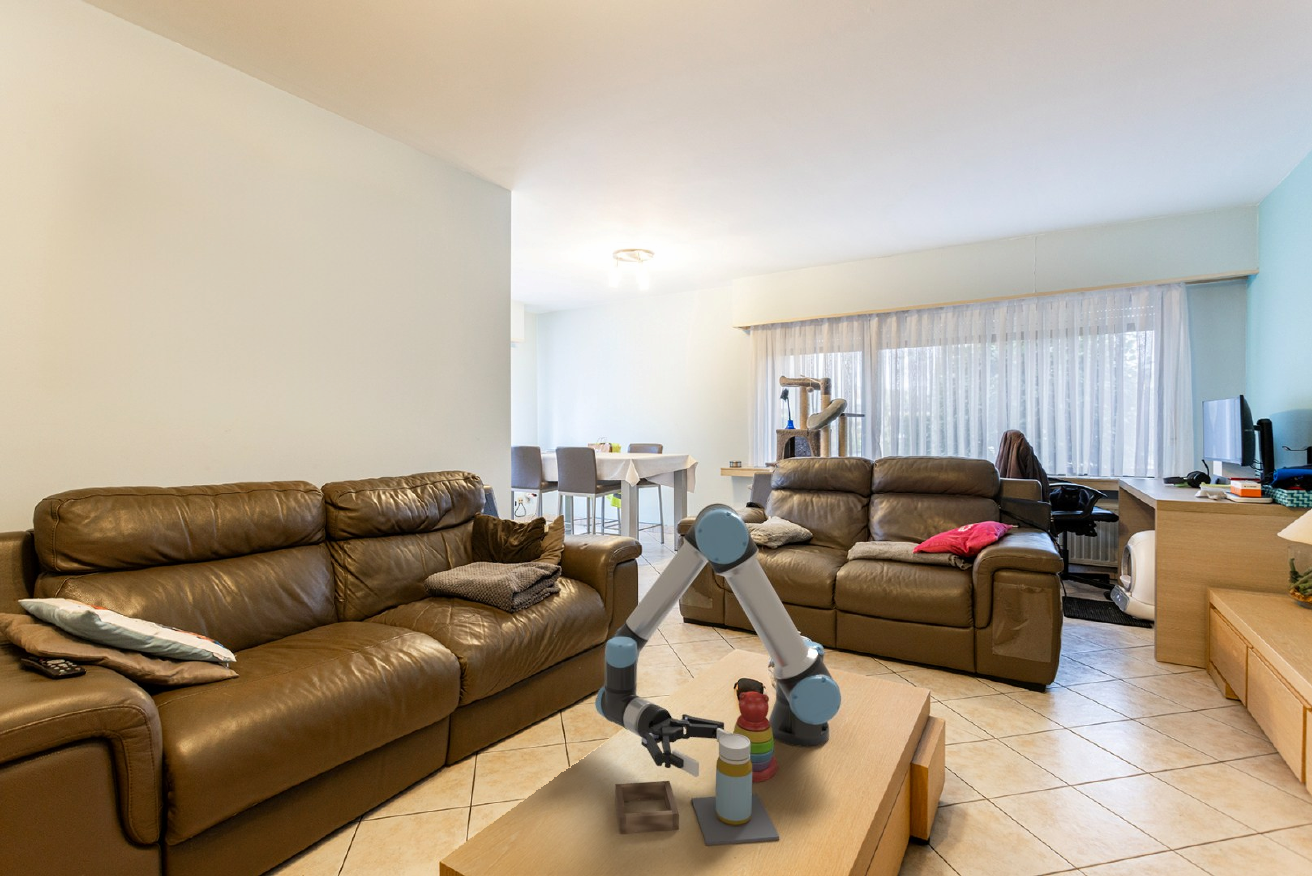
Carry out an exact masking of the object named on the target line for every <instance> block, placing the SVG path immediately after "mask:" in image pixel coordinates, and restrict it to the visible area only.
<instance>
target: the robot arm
mask: <svg viewBox="0 0 1312 876" xmlns="http://www.w3.org/2000/svg"><path fill="white" fill-rule="evenodd" d="M682 540H683V544H682V545H681V547H680V548H679V549H678V550H677V552H676V554H674V556H673V557H672V559H671V560H670V561H669V562H668V564H667V566H666V567H665V568H664V570H663V571H662V572H661V573H660V575H659V576H658V578H656V580H655V582H654V583H653V584H652V586H651V587H650V588H649V590H648V592H646V594H645V595H644V597H643V598H642V599H641V601H639V603H638V604H637V606H636V607H635V609H634V610H633V611H632V612H631V614H630V615H629V616H628V618H627V619H626V621H625V622H624V624H623V625H622V626H620V628H618V629H617V630H616V631H615V633H614V634H613V636H612V638H610V639H608V640H607V642H606V643H605V652H604V659H605V661H604V671H605V673H604V675H605V677H604V678H605V679H604V680H605V681H604V685H602V687H601V688H600V689H599V690H598V691H597V696H596V697H595V701H594V703H595V704H594V705H595V709H596V711H597V713H598V714H599V715H601V716H602V717H603V718H605V719H606V720H607V721H609V722H612V723H613V724H616V725H618V726H620V727H622V728H624V729H625V730H628V731H629V732H631V733H633V734H635V735H636V736H639V737H641V745H642V746H643V747H644V748H646V749H647V751H648V753H649V756H651V759H652V760H653V762H654V763H655V766H657V767H662V766H663V764H664V767H665V769H670V768H671V767H672V766H673V767H675V768H677V769H681V770H682V771H684V772H686V773H688V774H689V775H691V776H693V777H695V778H698V777H699V776H700V775H699V774H700V773H699V771H700V761H698V760H696V759H695V758H692V757H690V756H688V754H684V753H683V752H682V751H679V750H677V749H673V750H672V749H671V748H672V747H671V743H675V742H677V741H679V740H681V739H682V740H689V739H690V738H699V739H710V740H711V739H713V740H714V739H715V740H716V742H717V743H719V739H720V737H721V736H723V735H725V734H733V732H729V731H727V730H725V723H724V722H723V721H720V720H719V721H718V720H712V719H707V718H702V717H696V716H691V715H690V714H689V715H688V714H686V713H683V714H682V715H681V719H677V718H673V717H672V715H671V714H670V711H669V710H667V708H664V707H662V706H660V705H657V704H655V703H654V702H652V701H650V700H647V699H644V698H643V697H641V696H639V695H637V686H638V684H637V680H638V679H637V677H638V676H637V675H638V664H639V663H638V662H639V656H640V653H641V652H642V650H643V649H644V647H645V646H646V645H647V643H648V641H649V640H650V639H651V637H652V636H653V635H654V633H656V631H657V630H658V628H659V627H660V626H661V624H662V623H663V621H665V619H666V618H667V616H668V615H669V614H670V612H671V611H672V610H673V609H674V607H675V606H676V605H677V603H678V602H679V600H680V599H681V598H682V597H683V595H684V594H685V592H686V591H687V590H688V589H689V587H690V585H692V583H693V582H694V580H695V579H696V578H697V576H698V575H699V574H700V572H701V571H702V570H703V568H704V567H705V566H706V565H707V564H709V565H710V567H711V569H712V570H713V571H714V572H713V573H714V574H715V575H718V576H721V577H724V578H725V580H726V582H727V584H728V585H729V587H730V589H731V590H732V592H733V594H734V596H735V598H736V599H737V601H738V602H739V605H740V606H741V608H742V610H743V612H744V613H745V615H746V616H747V618H748V620H749V622H750V623H751V625H752V627H753V628H754V629H753V630H755V632H756V634H757V636H758V638H759V639H760V641H761V642H762V645H763V647H764V649H765V650H766V651H767V653H768V655H769V657H770V659H771V660H772V662H773V663H774V666H773V670H772V675H773V677H774V678H775V679H774V680H776V681H775V682H776V684H775V685H776V686H775V702H774V704H773V706H772V710H771V712H770V715H769V718H768V721H769V722H770V725H771V728H772V734H773V739H774V738H775V740H777V741H780V742H781V743H784V744H787V745H791V746H796V747H806V748H807V747H808V748H809V747H817V746H821V745H823V744H825V743H826V742H827V741H828V740H829V738H830V726H829V721H831V720H832V719H833V718H834V717H835V716H836V715H837V714H838V712H839V710H840V708H841V704H842V694H841V689H840V687H839V685H838V683H837V682H836V681H835V679H834V678H833V676H832V674H831V673H830V671H829V670H828V668H827V666H826V664H825V663H824V658H825V657H824V656H825V653H824V647H823V645H822V644H820V643H818V642H815V641H811V640H804V639H803V637H802V636H801V634H800V631H798V629H797V627H796V625H795V624H794V622H793V620H792V618H791V616H790V614H789V613H788V611H787V609H786V608H785V606H784V604H783V603H782V600H781V599H780V597H779V595H778V594H777V592H776V590H775V588H774V587H773V586H772V584H771V581H770V579H768V576H767V575H766V573H765V571H764V569H763V568H762V565H761V564H760V562H759V560H758V559H757V557H758V554H759V548H758V546H757V544H756V543H755V540H754V539H753V537H752V536H751V534H750V532H749V530H748V527H747V524H746V523H745V521H744V520H743V517H741V516H740V515H739V513H738V512H737V511H736V510H735V509H734V508H733V507H731V506H730V505H727V504H725V503H718V502H717V503H711V504H709V505H706V506H705V507H704V508H703V509H701V510H700V511H699V512H698V514H697V516H696V518H695V519H694V521H693V522H692V525H691V526H690V527H689V529H688V531H687V532H686V533H685V535H684V536H683V539H682ZM684 731H685V732H684ZM659 743H660V744H661V746H662V749H661V748H660V746H659V745H658V744H659Z"/></svg>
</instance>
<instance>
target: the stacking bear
mask: <svg viewBox="0 0 1312 876" xmlns="http://www.w3.org/2000/svg"><path fill="white" fill-rule="evenodd" d="M738 698H739V702H738V707H739V708H738V709H739V713H740V714H739V716H738V717H737V718H736V722H735V725H734V727H733V728H734V729H733V731H732V734H740V735H743V736H745V737H747V738H748V739H749V740H750V760H751V763H752V783H753V782H755V783H756V782H758V783H759V782H764V781H767V780H769V779H770V778H772V777H773V776H774V775H775V774H776V773H777V770H778V761H777V759H776V758H775V757H774V756H773V755H774V749H775V742H774V737H773V734H772V728H771V725H770V722H769V718H767V716H768V713H769V707H770V706H769V701H770V698H769V696H768V694H766V693H763V694H762V692H761V693H760V692H758V691H747V692H740V694H739V697H738Z"/></svg>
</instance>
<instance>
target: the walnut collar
mask: <svg viewBox="0 0 1312 876" xmlns="http://www.w3.org/2000/svg"><path fill="white" fill-rule="evenodd" d="M614 789H615V791H614V800H615V801H614V802H615V808H616V816H617V824H618V832H619V835H621V834H633V833H634V834H635V833H644V832H645V833H646V832H657V831H658V832H659V831H672V830H674V831H675V830H679V827H680V822H679V821H680V812H679V810H678V807H677V803H676V799H675V795H674V792H673V788H672V785H671V782H670V780H662V781H661V780H659V781H646V782H643V781H642V782H630V783H615V785H614ZM646 800H648V801H650V800H664V802H665V806H666V807H665V808H666V809H667V810H657V811H646V812H644V811H643V812H631V813H626V809H625V803H624V802H633V801H637V802H638V801H646Z"/></svg>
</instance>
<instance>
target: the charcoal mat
mask: <svg viewBox="0 0 1312 876" xmlns="http://www.w3.org/2000/svg"><path fill="white" fill-rule="evenodd" d="M691 803H692V806H693V808H694V812H695V815H696V818H697V821H698V824H699V827H700V830H701V832H702V833H701V834H702V836H703V839H704V841H705V845H706V846H717V845H730V844H733V845H734V844H742V843H743V844H744V843H755V842H768V841H770V842H771V841H779V840H780V835H779V833H778V831H777V829H776V827H775V825H774V823H773V822H772V820H771V818H770V815H769V814H768V812H767V810H766V807H765V806H764V804H763V802H762V801H761V799H760V796H759V794H758V793H752V809H751V818H750V819H749V820H748V821H747V822H746V823H745V824H743V825H739V826H733V825H728V824H725V823H724V822H722V821H721V820H720V819H719V818H718V816H717V815H716V796H706V797H705V796H704V797H691Z"/></svg>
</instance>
